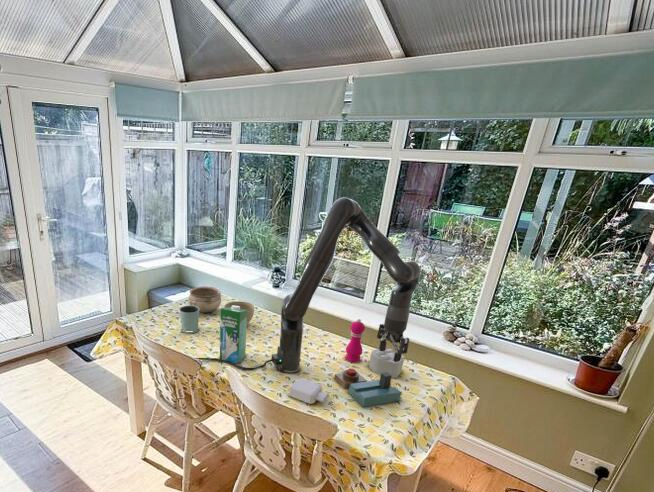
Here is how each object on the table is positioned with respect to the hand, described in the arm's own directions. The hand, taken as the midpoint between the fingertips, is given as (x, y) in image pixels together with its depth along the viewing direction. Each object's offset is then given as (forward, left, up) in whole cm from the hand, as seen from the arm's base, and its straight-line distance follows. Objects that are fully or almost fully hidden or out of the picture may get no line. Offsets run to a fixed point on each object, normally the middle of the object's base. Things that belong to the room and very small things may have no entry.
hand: (389, 356), depth 154 cm
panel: (-6, +12, -18) cm, 22 cm away
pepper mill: (+6, +29, -18) cm, 35 cm away
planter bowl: (-33, +78, -18) cm, 87 cm away
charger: (-27, +5, -18) cm, 33 cm away
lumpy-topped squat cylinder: (+14, +17, -18) cm, 28 cm away
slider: (+1, 0, -15) cm, 14 cm away
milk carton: (-47, +44, -18) cm, 67 cm away
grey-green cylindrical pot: (-60, +78, -18) cm, 100 cm away
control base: (-3, 0, -18) cm, 18 cm away
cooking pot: (-46, +102, -18) cm, 113 cm away
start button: (-6, +12, -14) cm, 20 cm away
